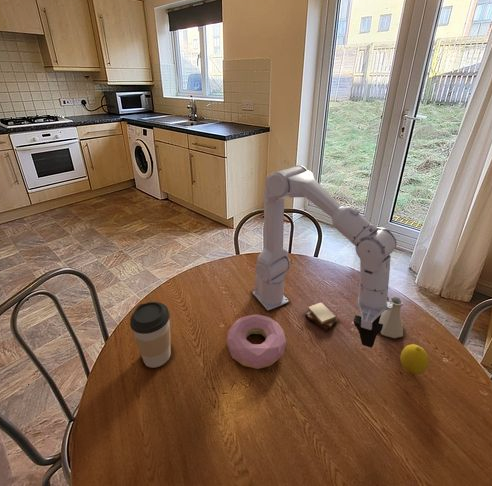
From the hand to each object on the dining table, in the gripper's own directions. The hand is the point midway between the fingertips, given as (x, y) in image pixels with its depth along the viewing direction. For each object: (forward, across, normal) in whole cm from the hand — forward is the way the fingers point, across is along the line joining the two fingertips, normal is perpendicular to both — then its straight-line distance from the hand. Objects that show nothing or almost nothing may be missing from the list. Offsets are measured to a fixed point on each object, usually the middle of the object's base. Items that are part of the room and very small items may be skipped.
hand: (370, 333), depth 68 cm
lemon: (+11, +4, -9) cm, 15 cm away
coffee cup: (+6, -24, +46) cm, 53 cm away
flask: (+10, +15, -3) cm, 19 cm away
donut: (+7, -9, +26) cm, 29 cm away
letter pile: (+8, +9, +14) cm, 19 cm away
